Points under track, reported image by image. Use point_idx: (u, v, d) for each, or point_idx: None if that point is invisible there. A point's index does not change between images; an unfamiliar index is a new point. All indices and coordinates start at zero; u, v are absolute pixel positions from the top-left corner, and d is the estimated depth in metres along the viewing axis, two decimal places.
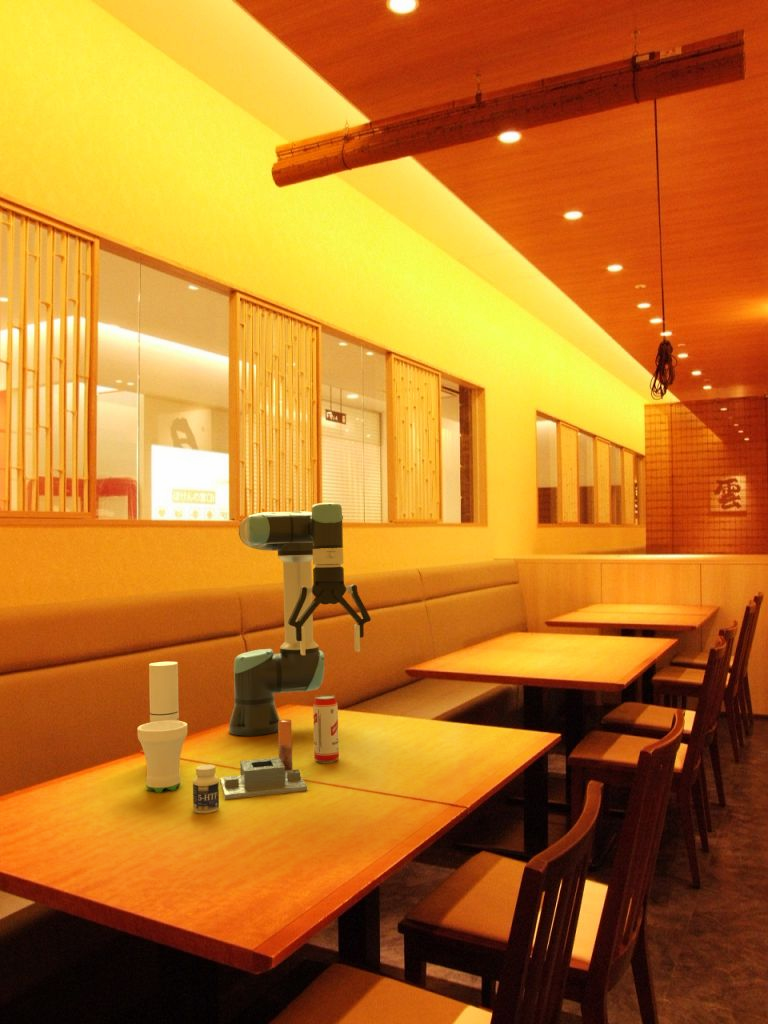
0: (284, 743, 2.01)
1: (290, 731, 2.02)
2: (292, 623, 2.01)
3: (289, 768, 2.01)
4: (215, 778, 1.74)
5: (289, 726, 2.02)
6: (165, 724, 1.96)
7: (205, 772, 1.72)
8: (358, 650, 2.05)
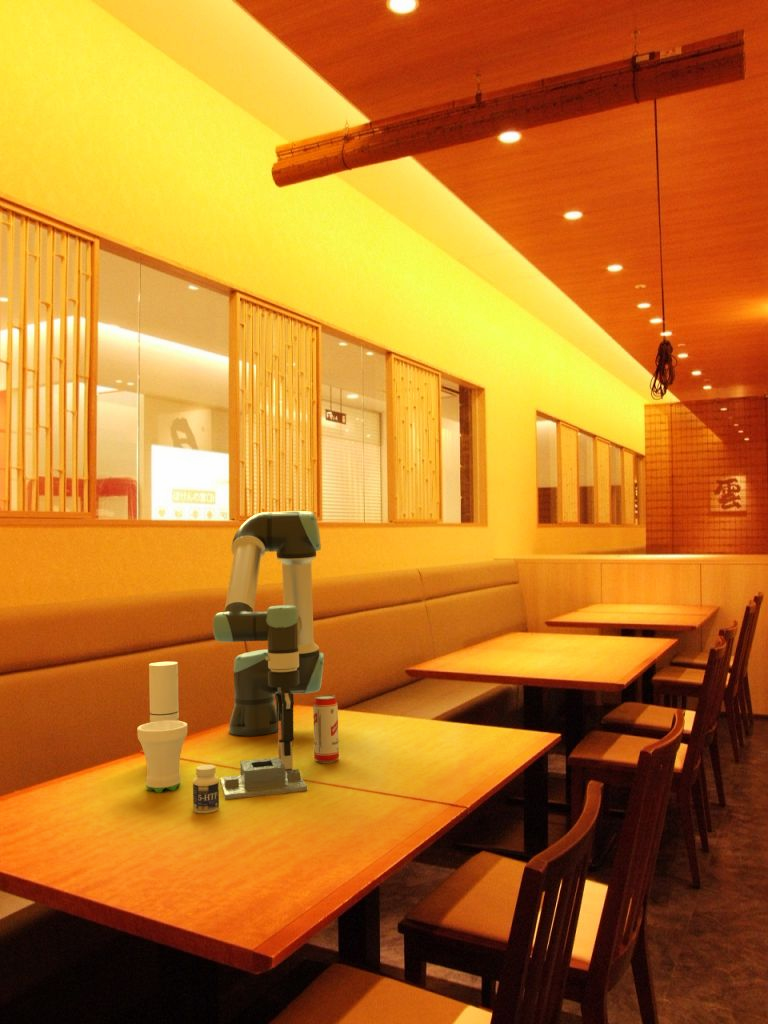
0: None
1: None
2: (277, 730, 2.07)
3: None
4: (215, 778, 1.74)
5: None
6: (165, 724, 1.96)
7: (205, 772, 1.72)
8: None
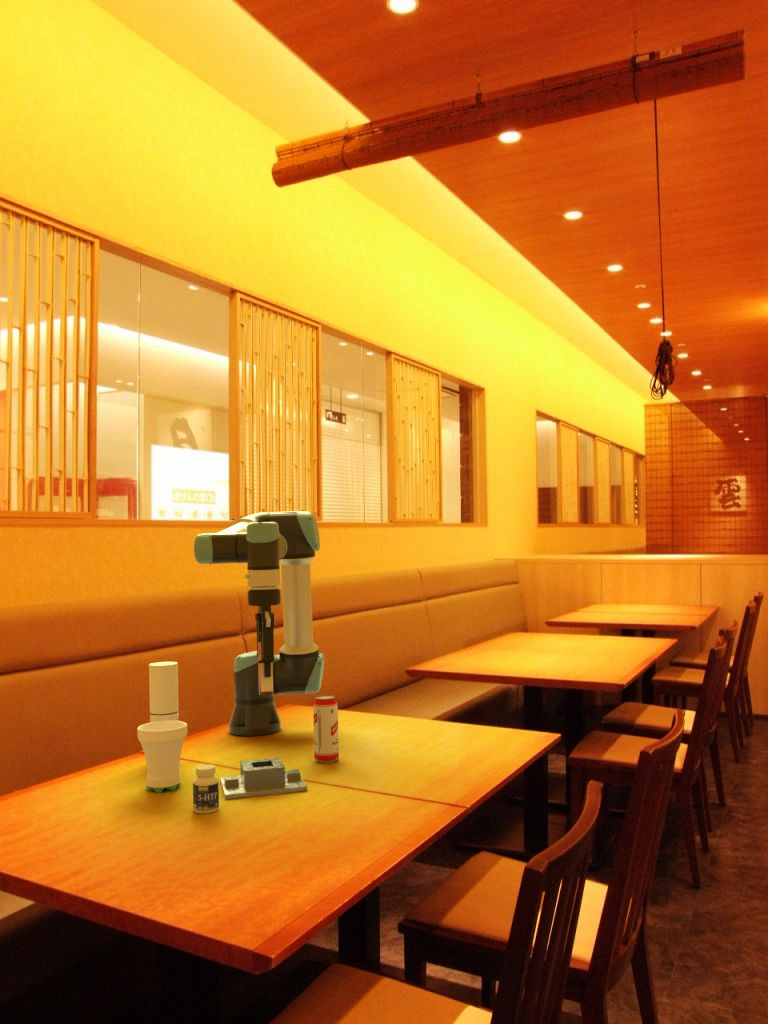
0: None
1: None
2: (257, 653, 1.97)
3: (269, 691, 1.92)
4: (215, 778, 1.74)
5: None
6: (165, 724, 1.96)
7: (205, 772, 1.72)
8: (261, 690, 1.91)
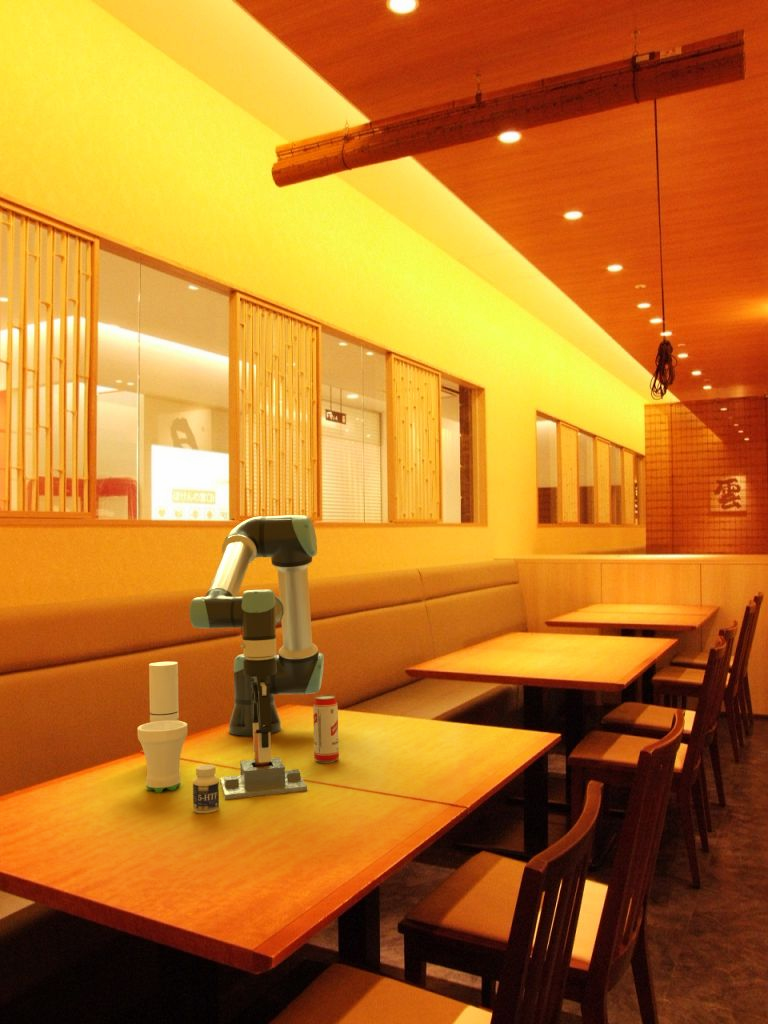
0: None
1: None
2: (251, 715, 1.97)
3: None
4: (215, 778, 1.74)
5: None
6: (165, 724, 1.96)
7: (205, 772, 1.72)
8: None
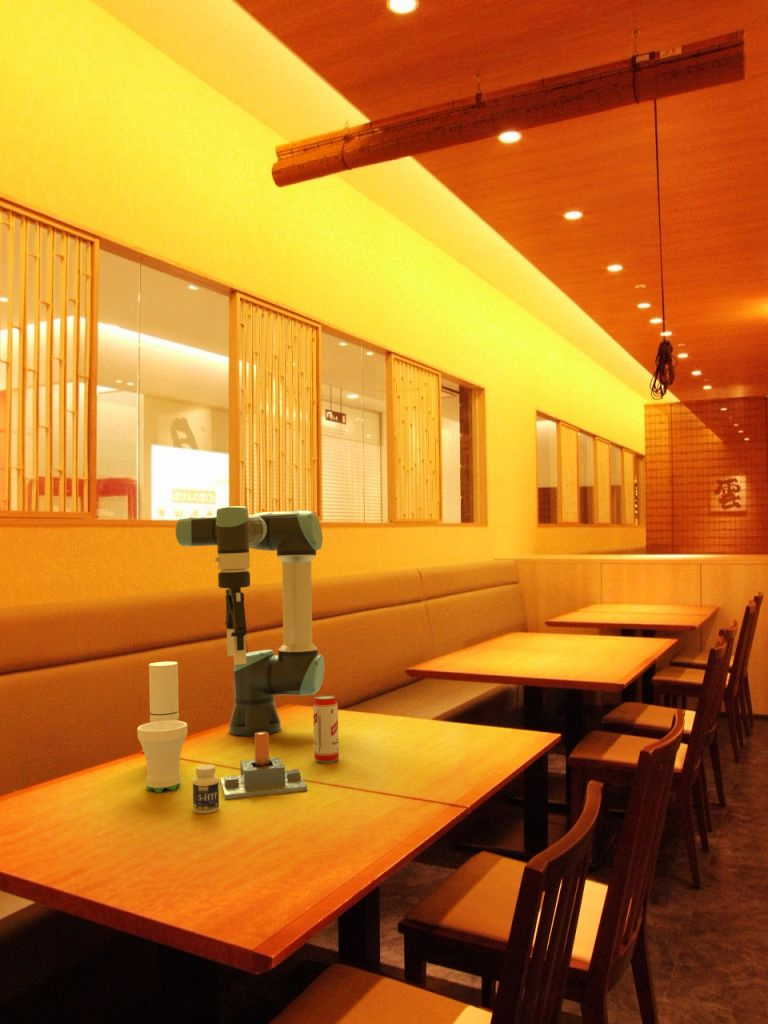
0: (261, 757, 1.88)
1: (267, 744, 1.89)
2: (225, 623, 2.08)
3: None
4: (215, 778, 1.74)
5: (266, 739, 1.89)
6: (165, 724, 1.96)
7: (205, 772, 1.72)
8: (234, 663, 1.92)
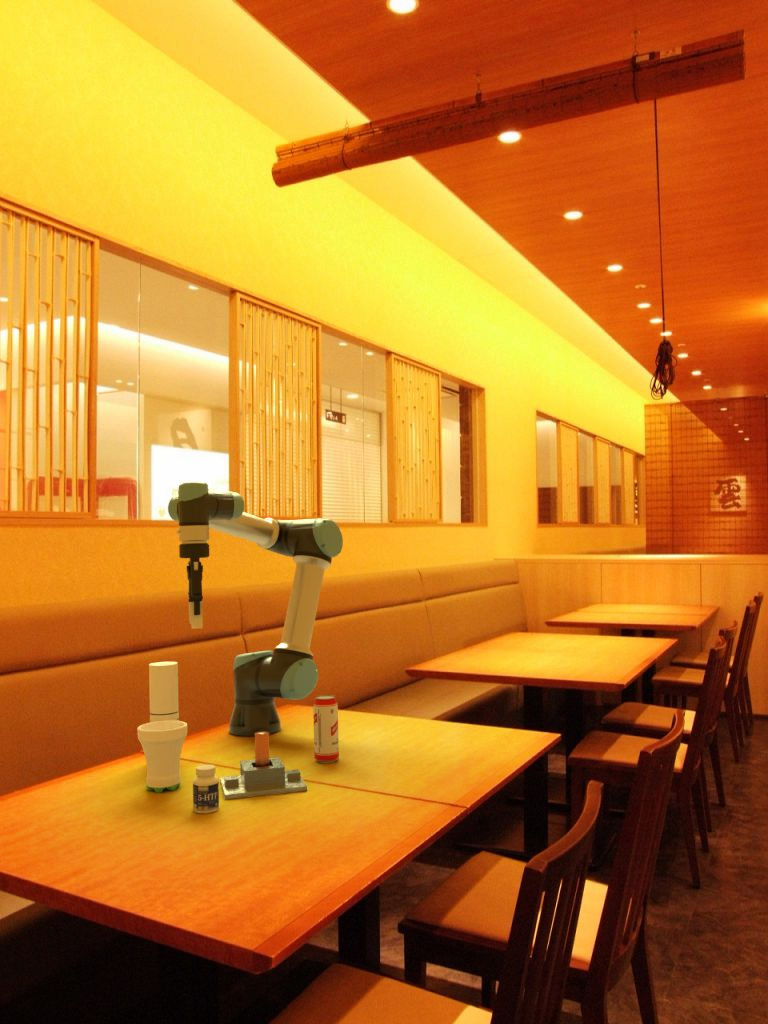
0: (261, 757, 1.88)
1: (267, 744, 1.89)
2: (188, 593, 2.22)
3: None
4: (215, 778, 1.74)
5: (266, 739, 1.89)
6: (165, 724, 1.96)
7: (205, 772, 1.72)
8: (191, 627, 2.06)
